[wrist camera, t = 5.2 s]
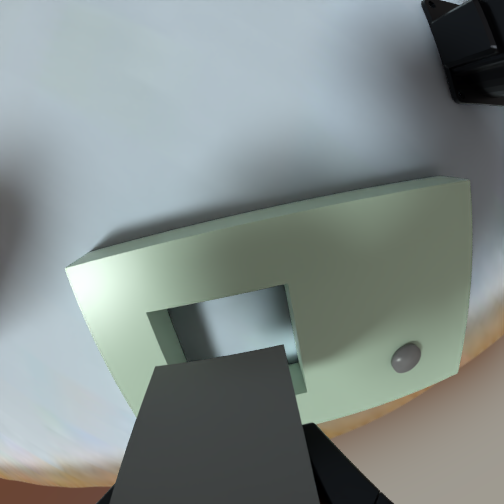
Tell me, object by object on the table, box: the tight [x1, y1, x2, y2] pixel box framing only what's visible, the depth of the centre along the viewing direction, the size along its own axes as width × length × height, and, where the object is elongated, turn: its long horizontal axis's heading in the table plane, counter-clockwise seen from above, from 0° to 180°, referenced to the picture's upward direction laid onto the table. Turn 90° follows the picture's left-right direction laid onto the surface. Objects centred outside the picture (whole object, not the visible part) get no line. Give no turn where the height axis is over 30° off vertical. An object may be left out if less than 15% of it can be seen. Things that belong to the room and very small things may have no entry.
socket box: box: [65, 176, 472, 424], centre depth 14 cm, size 18×11×3 cm, turn 102°
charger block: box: [109, 344, 320, 504], centre depth 6 cm, size 4×4×7 cm
